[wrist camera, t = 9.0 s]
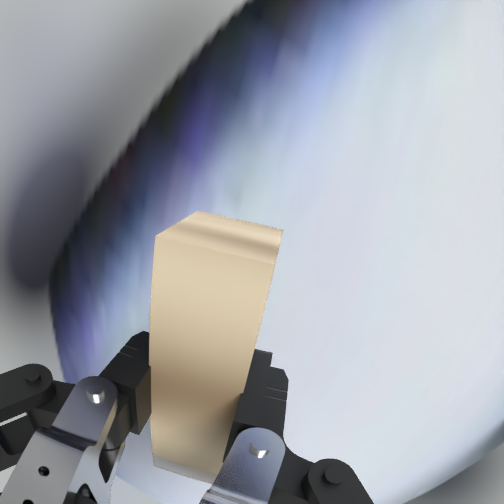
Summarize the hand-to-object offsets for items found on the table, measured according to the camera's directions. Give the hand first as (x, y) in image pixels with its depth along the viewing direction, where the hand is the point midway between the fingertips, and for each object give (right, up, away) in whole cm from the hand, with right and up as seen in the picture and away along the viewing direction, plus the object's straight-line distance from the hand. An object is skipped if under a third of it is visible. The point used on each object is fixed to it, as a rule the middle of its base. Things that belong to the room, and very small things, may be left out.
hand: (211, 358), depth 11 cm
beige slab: (0, -2, +1) cm, 2 cm away
